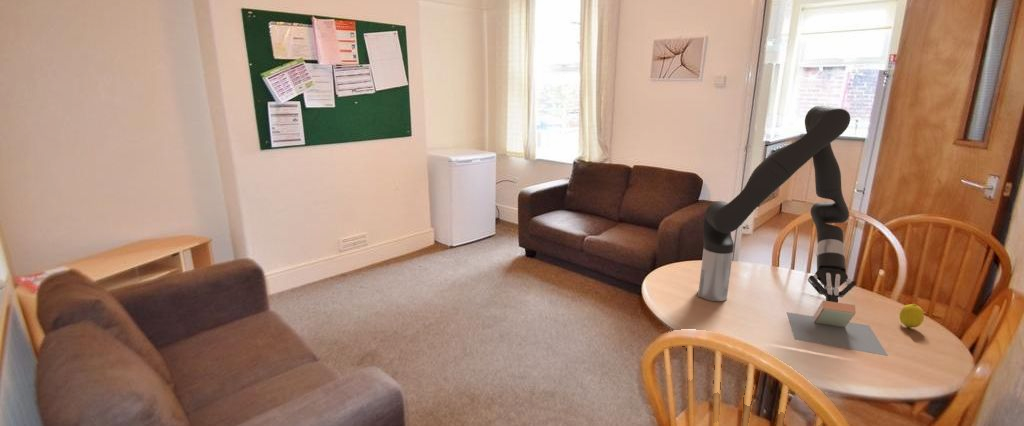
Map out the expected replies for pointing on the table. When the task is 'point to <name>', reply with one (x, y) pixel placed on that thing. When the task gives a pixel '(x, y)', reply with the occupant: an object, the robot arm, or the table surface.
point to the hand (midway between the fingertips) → (832, 308)
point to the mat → (835, 334)
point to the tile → (834, 313)
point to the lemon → (911, 315)
